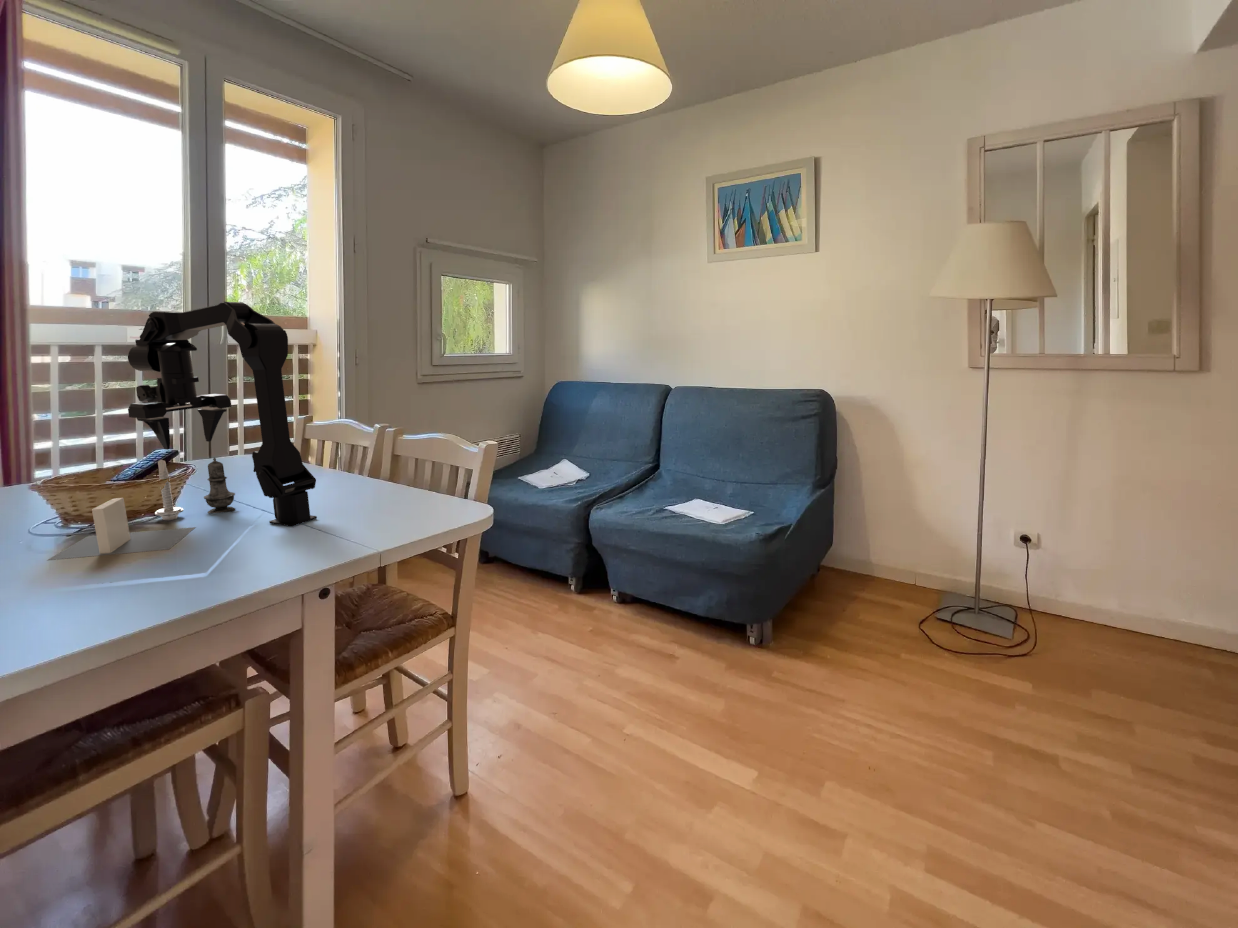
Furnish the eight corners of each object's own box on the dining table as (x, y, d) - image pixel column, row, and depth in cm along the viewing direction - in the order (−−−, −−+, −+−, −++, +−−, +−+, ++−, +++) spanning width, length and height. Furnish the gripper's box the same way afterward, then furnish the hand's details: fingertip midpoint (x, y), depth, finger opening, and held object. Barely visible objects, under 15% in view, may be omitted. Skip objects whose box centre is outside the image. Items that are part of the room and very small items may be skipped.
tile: (130, 539, 120) (123, 497, 118) (110, 552, 112) (102, 508, 110) (120, 540, 119) (113, 498, 118) (99, 553, 112) (91, 509, 110)
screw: (153, 525, 130) (159, 519, 135) (182, 522, 132) (186, 516, 137) (143, 462, 128) (150, 458, 132) (172, 460, 130) (177, 456, 134)
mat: (196, 529, 127) (195, 527, 127) (169, 551, 114) (169, 549, 114) (88, 538, 122) (87, 535, 122) (47, 562, 109) (46, 560, 109)
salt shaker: (226, 514, 137) (219, 460, 135) (199, 515, 138) (191, 460, 135) (242, 507, 143) (236, 454, 141) (217, 507, 143) (209, 455, 141)
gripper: (193, 368, 146) (203, 435, 150) (104, 375, 130) (117, 450, 133) (228, 369, 142) (237, 438, 146) (140, 377, 126) (153, 455, 129)
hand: (188, 445), depth 139 cm, fingers open, 9 cm apart
